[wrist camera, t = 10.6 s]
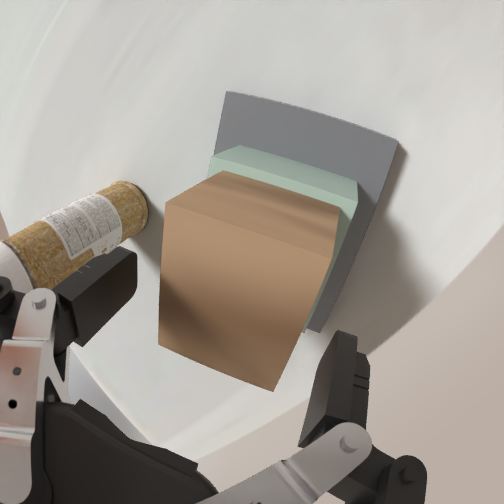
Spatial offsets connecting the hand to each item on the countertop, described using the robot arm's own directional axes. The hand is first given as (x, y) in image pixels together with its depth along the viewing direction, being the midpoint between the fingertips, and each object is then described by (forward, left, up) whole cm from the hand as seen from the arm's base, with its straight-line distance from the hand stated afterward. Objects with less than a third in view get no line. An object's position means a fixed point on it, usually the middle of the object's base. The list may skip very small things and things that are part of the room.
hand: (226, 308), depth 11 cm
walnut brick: (0, 0, -5) cm, 5 cm away
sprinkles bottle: (+3, -12, -10) cm, 16 cm away
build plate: (0, 0, -10) cm, 10 cm away
